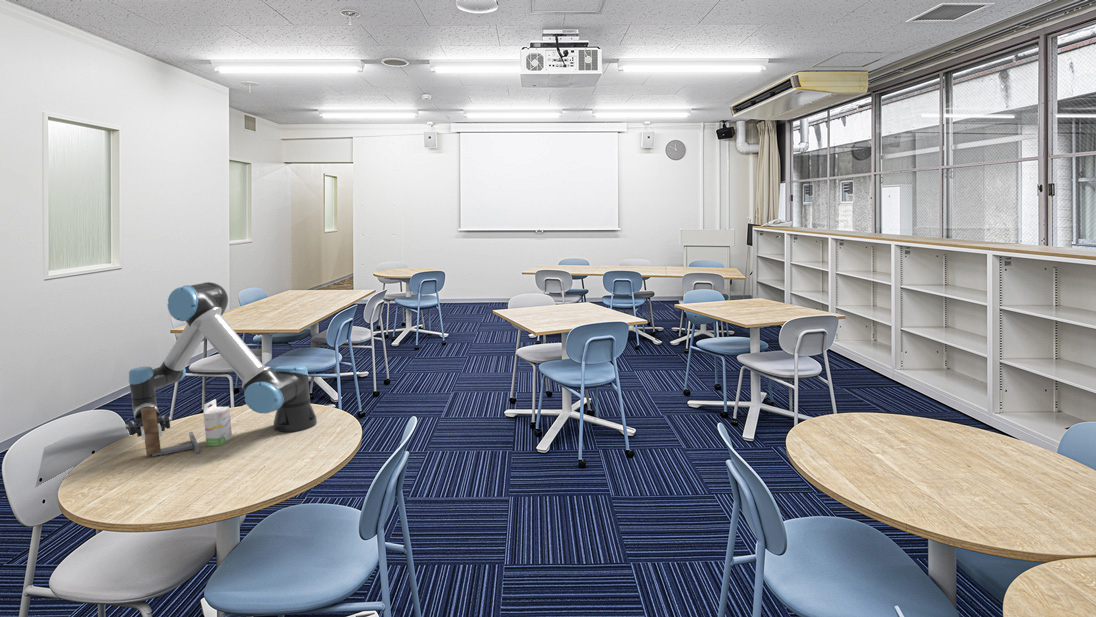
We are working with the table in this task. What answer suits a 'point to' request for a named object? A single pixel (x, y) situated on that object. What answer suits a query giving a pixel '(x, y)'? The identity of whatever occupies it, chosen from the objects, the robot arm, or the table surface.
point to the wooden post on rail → (153, 435)
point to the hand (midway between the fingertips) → (152, 434)
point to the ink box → (217, 424)
